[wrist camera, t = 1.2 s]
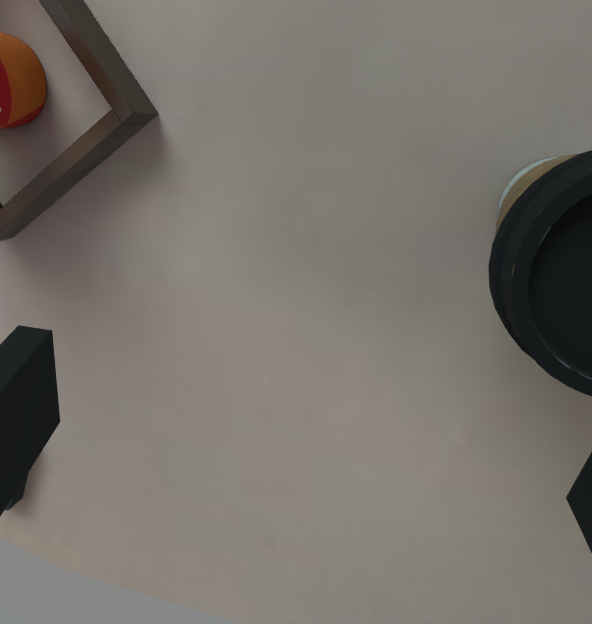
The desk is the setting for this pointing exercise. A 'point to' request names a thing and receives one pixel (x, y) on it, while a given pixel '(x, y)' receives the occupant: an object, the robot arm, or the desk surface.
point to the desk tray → (99, 138)
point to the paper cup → (19, 83)
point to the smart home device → (17, 494)
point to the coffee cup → (548, 266)
